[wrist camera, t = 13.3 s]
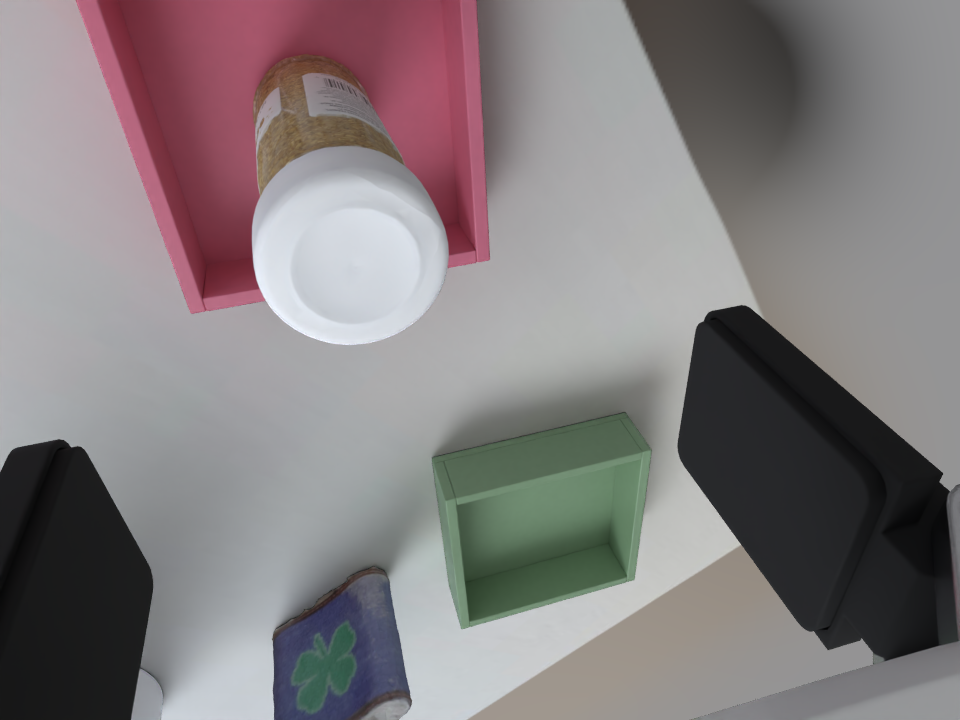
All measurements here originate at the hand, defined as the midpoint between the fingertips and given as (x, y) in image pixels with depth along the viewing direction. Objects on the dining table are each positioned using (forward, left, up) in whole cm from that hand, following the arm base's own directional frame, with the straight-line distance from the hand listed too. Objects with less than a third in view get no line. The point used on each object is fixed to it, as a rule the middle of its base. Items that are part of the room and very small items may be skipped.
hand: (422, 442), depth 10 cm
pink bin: (0, 0, -20) cm, 20 cm away
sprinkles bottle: (0, 0, -20) cm, 20 cm away
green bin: (-9, +26, -20) cm, 34 cm away
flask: (+5, +31, -20) cm, 37 cm away
